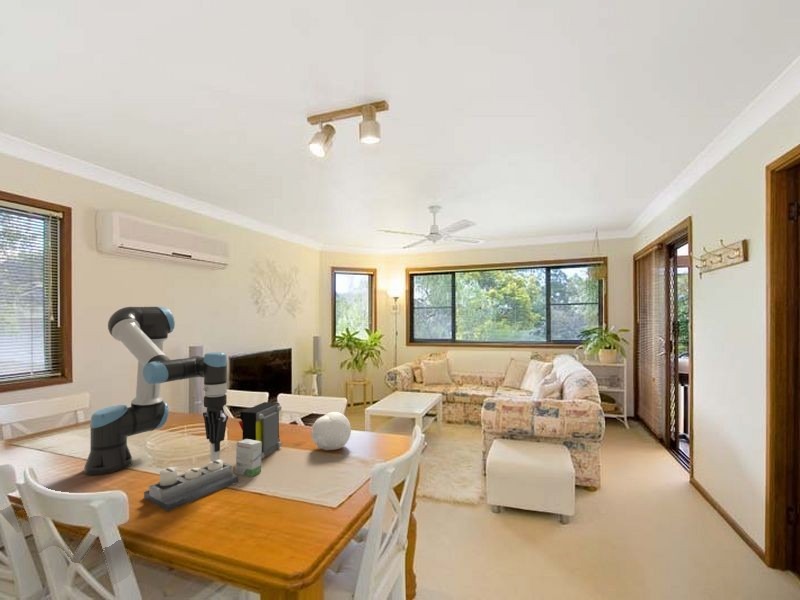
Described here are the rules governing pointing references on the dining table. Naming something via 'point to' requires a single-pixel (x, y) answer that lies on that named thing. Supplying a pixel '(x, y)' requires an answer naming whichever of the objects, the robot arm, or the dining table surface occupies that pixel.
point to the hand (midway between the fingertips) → (215, 459)
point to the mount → (190, 487)
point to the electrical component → (262, 425)
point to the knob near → (168, 476)
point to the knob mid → (192, 473)
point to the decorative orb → (331, 431)
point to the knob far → (215, 465)
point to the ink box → (248, 457)
